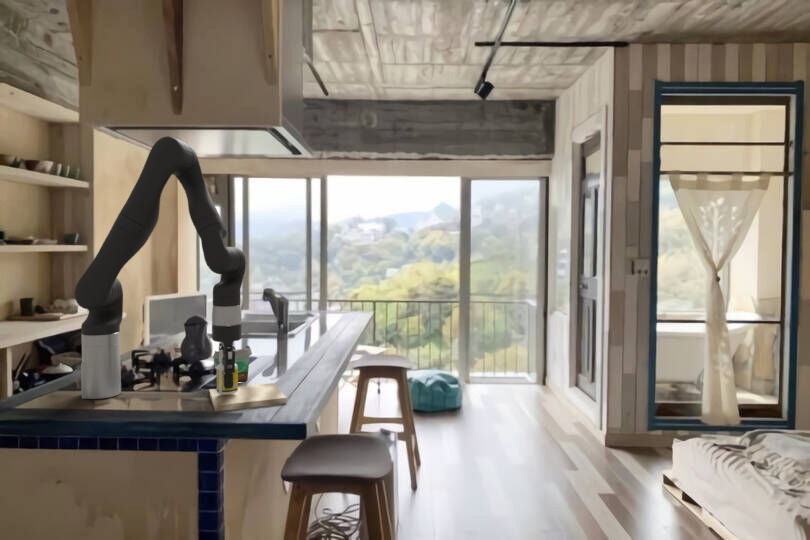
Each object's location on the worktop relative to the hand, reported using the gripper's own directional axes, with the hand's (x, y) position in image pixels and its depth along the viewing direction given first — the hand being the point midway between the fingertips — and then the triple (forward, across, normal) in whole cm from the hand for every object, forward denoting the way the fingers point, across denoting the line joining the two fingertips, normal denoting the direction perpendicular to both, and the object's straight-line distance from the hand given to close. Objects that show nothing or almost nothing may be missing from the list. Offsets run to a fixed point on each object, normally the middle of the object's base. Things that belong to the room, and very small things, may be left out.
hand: (227, 384), depth 149 cm
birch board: (+4, 0, +5) cm, 7 cm away
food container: (+5, -19, +5) cm, 20 cm away
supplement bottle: (+2, 0, 0) cm, 2 cm away
